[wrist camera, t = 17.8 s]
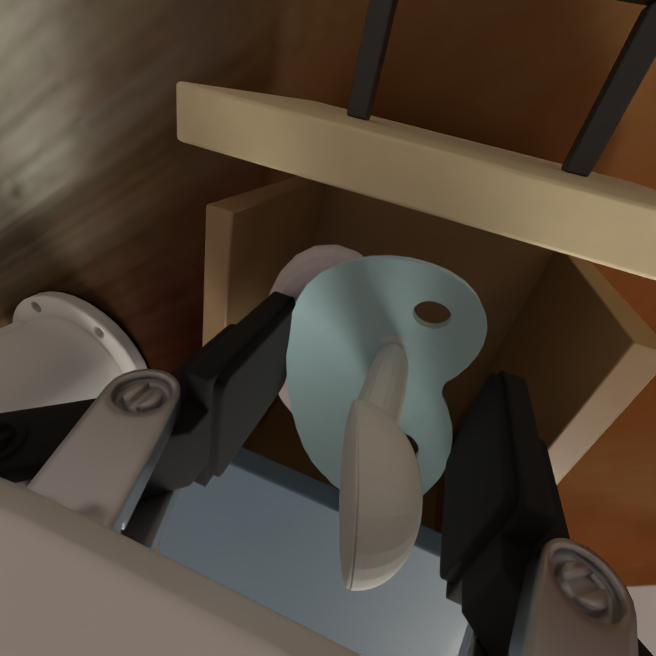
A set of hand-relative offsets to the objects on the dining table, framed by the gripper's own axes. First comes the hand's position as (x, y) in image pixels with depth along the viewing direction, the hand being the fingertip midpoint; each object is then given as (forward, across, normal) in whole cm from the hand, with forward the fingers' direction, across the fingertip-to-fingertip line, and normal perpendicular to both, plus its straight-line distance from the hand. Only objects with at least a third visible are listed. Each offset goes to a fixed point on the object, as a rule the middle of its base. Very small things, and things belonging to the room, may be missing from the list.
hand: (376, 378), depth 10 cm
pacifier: (+1, +1, 0) cm, 1 cm away
